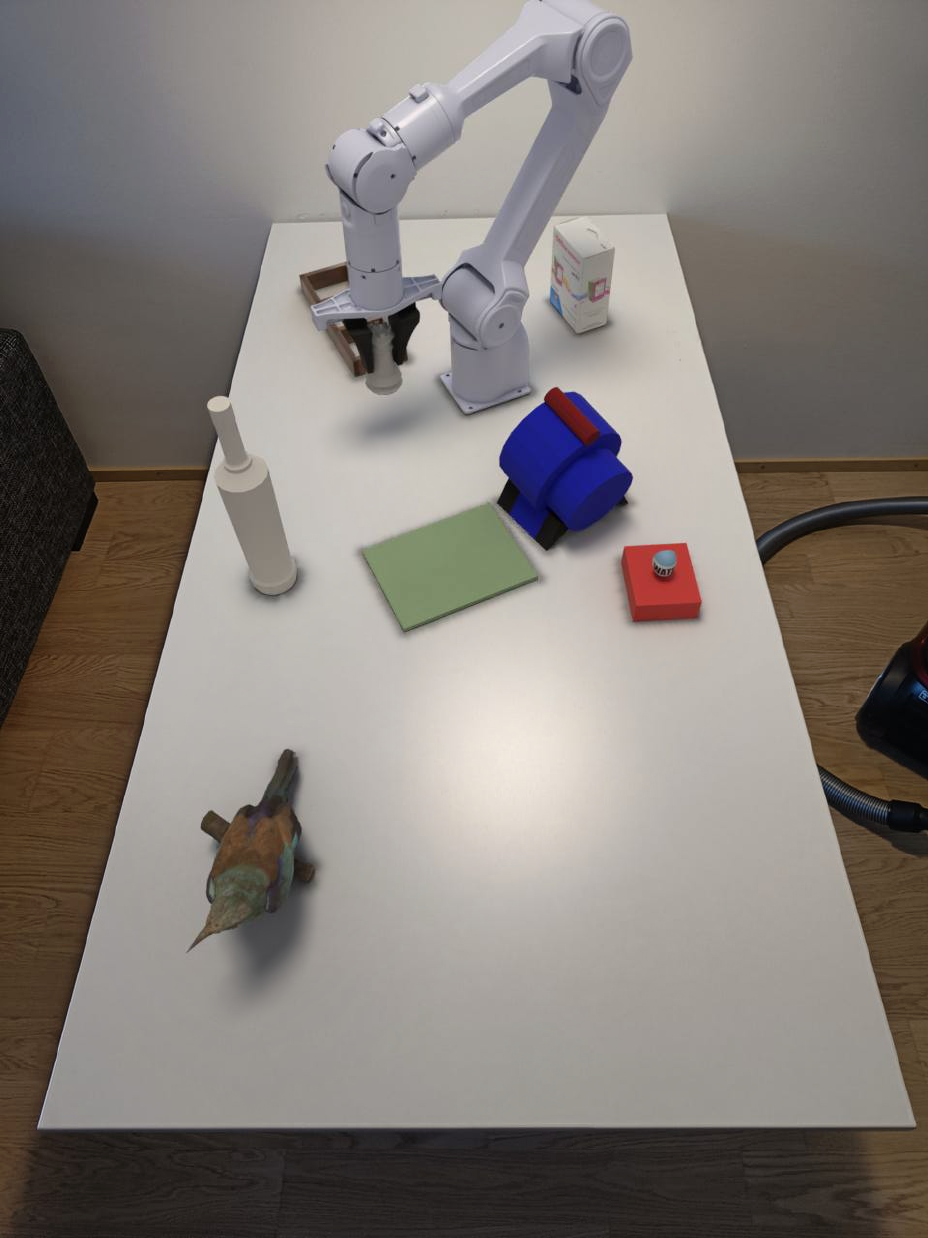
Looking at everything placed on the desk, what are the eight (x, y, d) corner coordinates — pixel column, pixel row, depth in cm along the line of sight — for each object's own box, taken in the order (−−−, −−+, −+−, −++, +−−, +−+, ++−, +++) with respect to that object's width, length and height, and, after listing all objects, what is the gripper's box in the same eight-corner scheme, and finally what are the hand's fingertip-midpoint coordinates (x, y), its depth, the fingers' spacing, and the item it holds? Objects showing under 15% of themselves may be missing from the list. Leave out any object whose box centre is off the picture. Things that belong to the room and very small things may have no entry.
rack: (350, 275, 130) (348, 260, 128) (407, 359, 118) (406, 344, 116) (301, 290, 128) (298, 274, 126) (355, 376, 117) (352, 361, 115)
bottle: (290, 600, 96) (236, 427, 75) (245, 592, 97) (179, 420, 76) (304, 563, 99) (256, 387, 78) (260, 556, 100) (201, 380, 79)
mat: (489, 505, 103) (489, 502, 103) (537, 579, 97) (538, 575, 96) (362, 553, 100) (361, 549, 99) (404, 632, 93) (403, 629, 93)
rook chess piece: (386, 402, 103) (381, 344, 97) (357, 386, 105) (351, 329, 98) (410, 382, 105) (407, 325, 99) (382, 367, 107) (377, 310, 101)
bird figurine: (231, 745, 85) (151, 767, 65) (333, 750, 85) (284, 775, 65) (221, 885, 84) (138, 952, 64) (324, 892, 84) (272, 960, 64)
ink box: (546, 300, 125) (551, 222, 115) (577, 291, 126) (585, 212, 117) (576, 335, 121) (584, 256, 111) (607, 324, 122) (618, 246, 112)
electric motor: (571, 453, 108) (583, 353, 95) (640, 513, 102) (662, 415, 90) (492, 498, 104) (493, 399, 92) (559, 563, 98) (570, 467, 86)
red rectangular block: (696, 617, 94) (708, 581, 88) (632, 621, 93) (641, 585, 88) (681, 558, 98) (692, 521, 93) (621, 562, 98) (628, 524, 93)
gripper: (423, 222, 96) (426, 328, 107) (295, 252, 92) (312, 360, 103) (449, 256, 92) (450, 363, 103) (317, 289, 88) (332, 396, 99)
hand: (382, 364), depth 103 cm, fingers closed on rook chess piece, 3 cm apart
